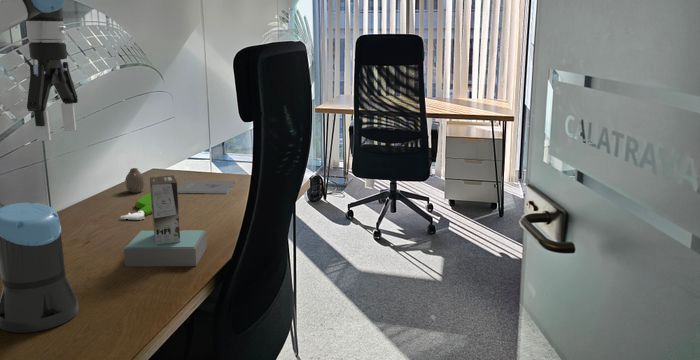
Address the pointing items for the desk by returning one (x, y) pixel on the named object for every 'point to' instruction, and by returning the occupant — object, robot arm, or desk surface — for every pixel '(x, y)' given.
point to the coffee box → (165, 209)
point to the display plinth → (166, 250)
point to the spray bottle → (141, 208)
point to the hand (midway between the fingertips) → (57, 135)
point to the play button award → (205, 186)
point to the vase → (134, 181)
